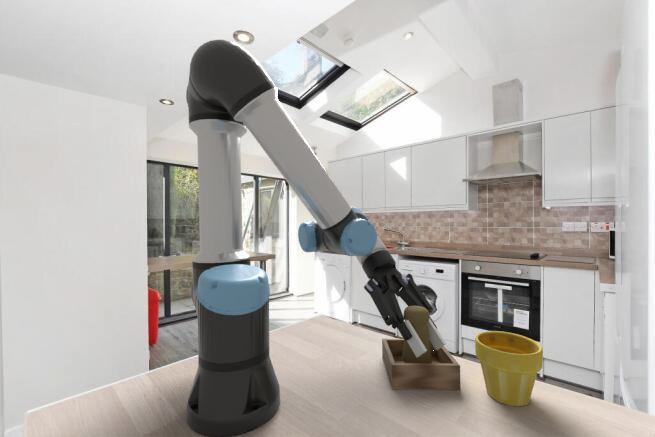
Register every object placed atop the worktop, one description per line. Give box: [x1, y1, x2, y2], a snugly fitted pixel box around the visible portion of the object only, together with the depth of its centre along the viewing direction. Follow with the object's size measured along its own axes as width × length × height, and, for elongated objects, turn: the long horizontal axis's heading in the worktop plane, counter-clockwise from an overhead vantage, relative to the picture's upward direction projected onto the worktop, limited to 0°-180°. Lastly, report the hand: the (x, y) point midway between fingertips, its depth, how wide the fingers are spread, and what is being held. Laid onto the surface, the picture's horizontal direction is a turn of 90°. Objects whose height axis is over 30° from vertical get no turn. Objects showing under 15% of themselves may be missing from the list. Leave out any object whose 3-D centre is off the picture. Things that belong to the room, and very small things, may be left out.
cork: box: [402, 305, 432, 363], centre depth 63 cm, size 6×6×11 cm
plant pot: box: [474, 330, 544, 407], centre depth 54 cm, size 10×10×10 cm
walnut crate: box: [381, 338, 461, 391], centre depth 62 cm, size 13×13×4 cm
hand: (431, 350), depth 59 cm, fingers closed on cork, 5 cm apart
